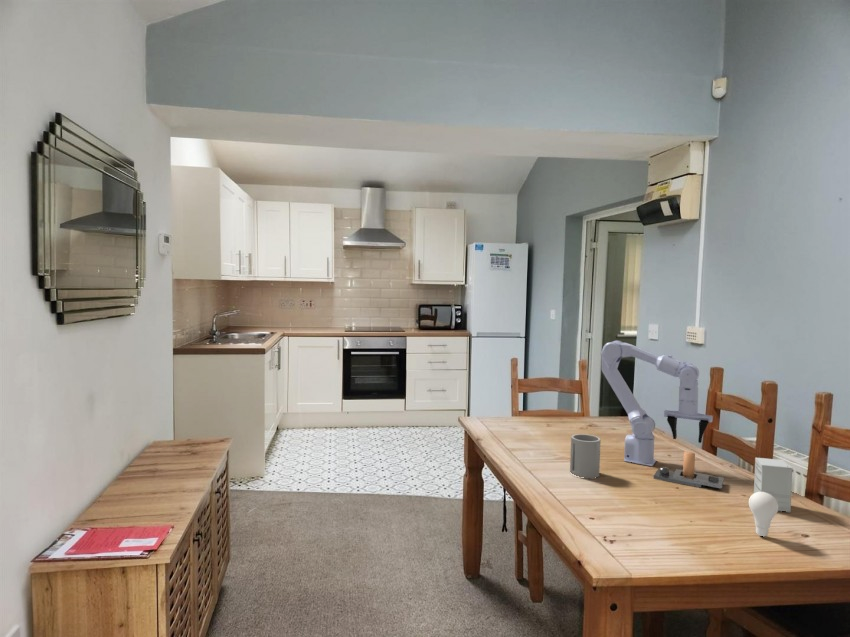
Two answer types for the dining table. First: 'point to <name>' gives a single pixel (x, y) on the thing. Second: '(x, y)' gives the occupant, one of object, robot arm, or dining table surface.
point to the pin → (688, 464)
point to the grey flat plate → (688, 478)
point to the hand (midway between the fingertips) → (687, 440)
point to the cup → (585, 455)
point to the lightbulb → (763, 511)
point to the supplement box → (774, 481)
